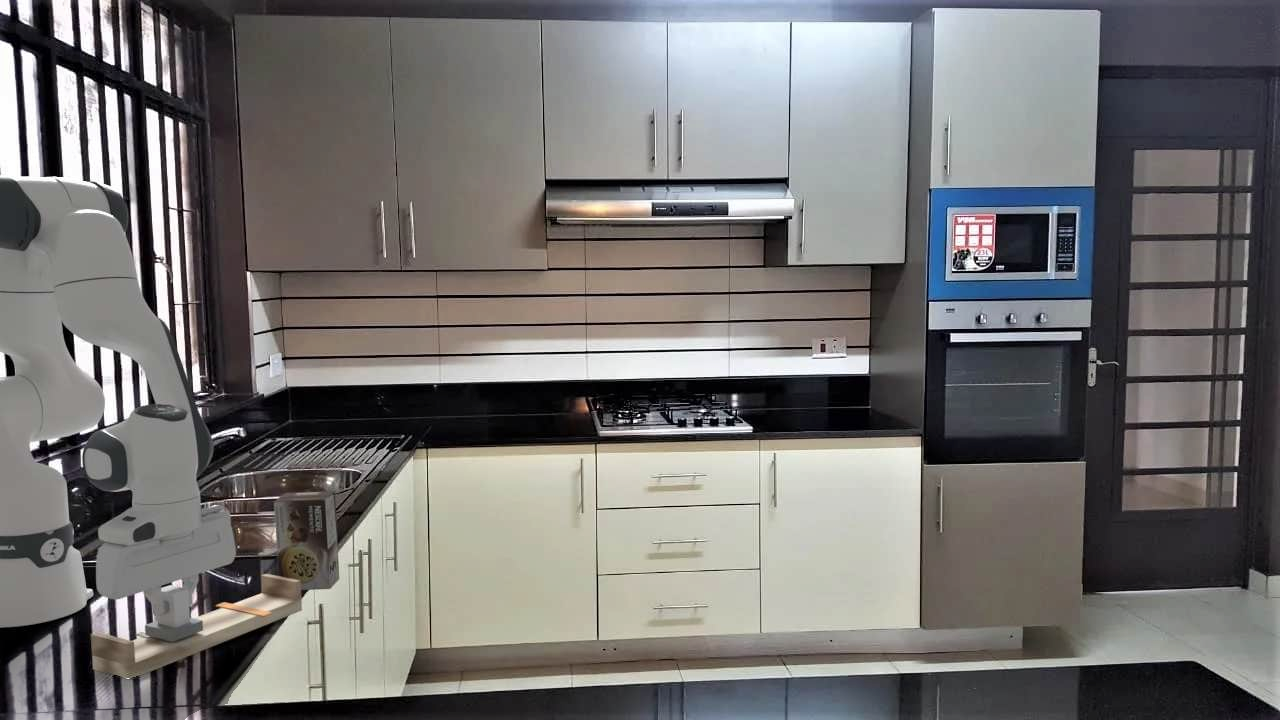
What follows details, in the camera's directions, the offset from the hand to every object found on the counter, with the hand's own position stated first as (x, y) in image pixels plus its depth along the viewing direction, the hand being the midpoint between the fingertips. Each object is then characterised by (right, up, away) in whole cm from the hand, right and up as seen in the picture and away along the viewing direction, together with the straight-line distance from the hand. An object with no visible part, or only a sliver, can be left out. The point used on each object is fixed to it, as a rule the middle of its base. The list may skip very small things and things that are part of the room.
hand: (172, 610), depth 140 cm
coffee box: (+10, -3, +29) cm, 31 cm away
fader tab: (0, -3, 0) cm, 3 cm away
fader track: (+2, -5, +5) cm, 8 cm away
